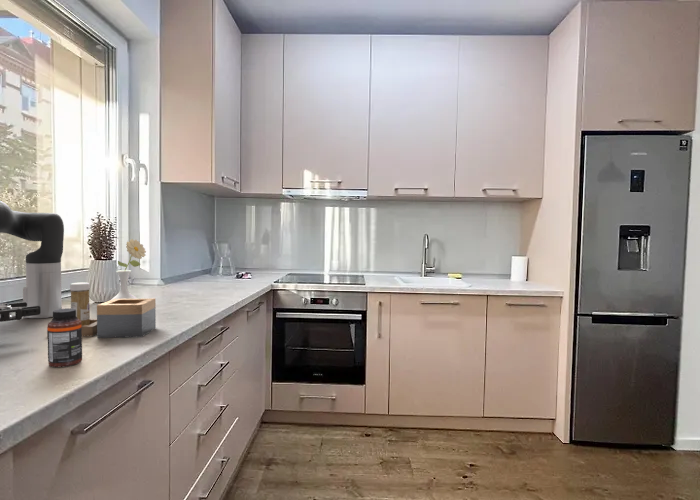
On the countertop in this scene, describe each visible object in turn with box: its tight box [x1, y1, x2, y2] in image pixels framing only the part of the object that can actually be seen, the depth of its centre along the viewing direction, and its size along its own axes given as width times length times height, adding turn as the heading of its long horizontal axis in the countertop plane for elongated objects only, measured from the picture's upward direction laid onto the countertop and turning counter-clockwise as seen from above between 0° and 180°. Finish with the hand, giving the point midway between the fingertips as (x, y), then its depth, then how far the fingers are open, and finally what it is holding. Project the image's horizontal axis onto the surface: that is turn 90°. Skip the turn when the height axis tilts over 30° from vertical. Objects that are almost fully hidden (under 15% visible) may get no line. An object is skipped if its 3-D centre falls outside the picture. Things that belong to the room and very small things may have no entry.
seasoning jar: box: [69, 281, 91, 325], centre depth 117 cm, size 5×5×14 cm
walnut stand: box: [46, 318, 97, 338], centre depth 117 cm, size 11×11×2 cm
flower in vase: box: [110, 238, 147, 300], centre depth 151 cm, size 13×11×25 cm
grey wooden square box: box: [96, 297, 157, 339], centre depth 117 cm, size 11×11×8 cm
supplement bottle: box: [46, 307, 83, 368], centre depth 89 cm, size 6×6×11 cm
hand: (33, 308), depth 108 cm, fingers open, 8 cm apart
